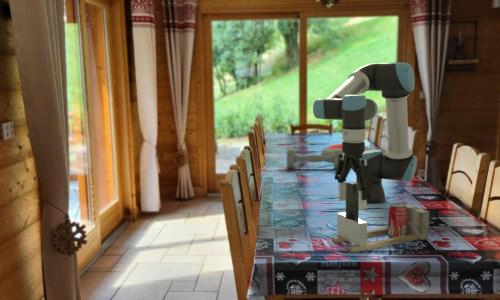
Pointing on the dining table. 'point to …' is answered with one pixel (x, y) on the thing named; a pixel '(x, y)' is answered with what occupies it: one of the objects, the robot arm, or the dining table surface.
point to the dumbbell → (311, 158)
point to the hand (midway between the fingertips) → (352, 204)
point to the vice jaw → (352, 218)
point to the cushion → (330, 149)
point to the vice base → (414, 227)
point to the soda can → (397, 219)
